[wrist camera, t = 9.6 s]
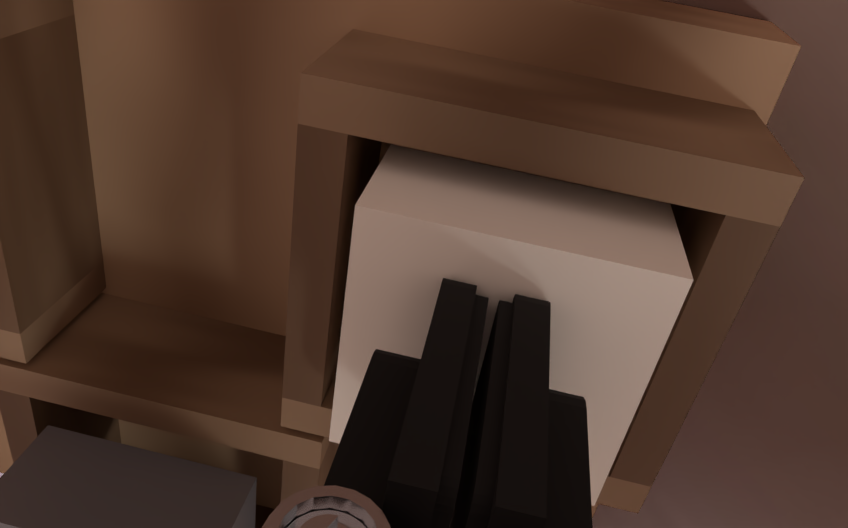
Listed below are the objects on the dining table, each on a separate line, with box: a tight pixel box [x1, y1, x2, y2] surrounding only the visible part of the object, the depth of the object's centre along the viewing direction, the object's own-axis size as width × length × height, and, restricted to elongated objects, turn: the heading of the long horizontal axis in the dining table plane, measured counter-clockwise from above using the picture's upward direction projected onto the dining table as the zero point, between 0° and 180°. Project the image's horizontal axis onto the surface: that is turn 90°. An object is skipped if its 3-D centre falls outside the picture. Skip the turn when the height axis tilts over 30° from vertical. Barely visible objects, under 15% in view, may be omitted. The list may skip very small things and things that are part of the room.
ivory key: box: [329, 144, 693, 506], centre depth 12 cm, size 5×5×2 cm
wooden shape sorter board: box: [0, 0, 804, 528], centre depth 16 cm, size 21×17×5 cm
